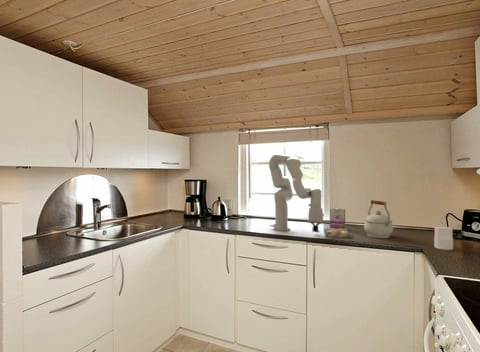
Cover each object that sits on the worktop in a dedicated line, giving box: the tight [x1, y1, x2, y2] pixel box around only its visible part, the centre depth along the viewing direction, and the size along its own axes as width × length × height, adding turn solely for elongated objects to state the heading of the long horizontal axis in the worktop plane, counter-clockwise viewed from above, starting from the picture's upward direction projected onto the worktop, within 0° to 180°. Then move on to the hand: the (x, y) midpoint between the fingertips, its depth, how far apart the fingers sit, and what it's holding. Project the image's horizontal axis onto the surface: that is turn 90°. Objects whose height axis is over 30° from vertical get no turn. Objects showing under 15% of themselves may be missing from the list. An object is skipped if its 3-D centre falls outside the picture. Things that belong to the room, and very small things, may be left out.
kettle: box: [363, 199, 394, 239], centre depth 199 cm, size 25×18×25 cm
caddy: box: [326, 227, 350, 239], centre depth 200 cm, size 14×14×4 cm
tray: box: [323, 226, 345, 236], centre depth 200 cm, size 14×14×4 cm
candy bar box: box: [329, 207, 346, 229], centre depth 224 cm, size 11×5×16 cm, turn 62°
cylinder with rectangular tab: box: [433, 226, 454, 251], centre depth 166 cm, size 9×9×12 cm
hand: (315, 231), depth 203 cm, fingers closed
